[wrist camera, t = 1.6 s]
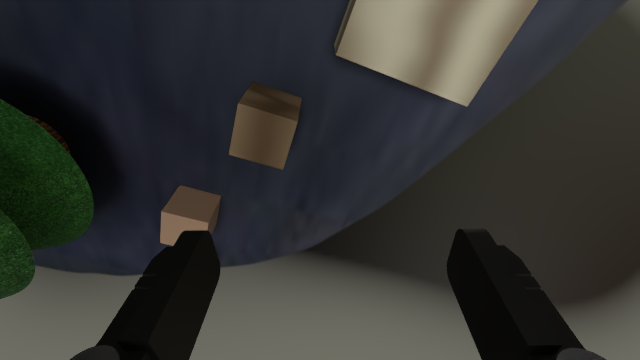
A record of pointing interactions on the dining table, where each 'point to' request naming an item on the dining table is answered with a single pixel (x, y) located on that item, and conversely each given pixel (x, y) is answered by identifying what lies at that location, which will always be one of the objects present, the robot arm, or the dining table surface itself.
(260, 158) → the walnut block
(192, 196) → the tan cube
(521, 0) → the birch block
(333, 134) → the dining table surface
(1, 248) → the decorative tree
